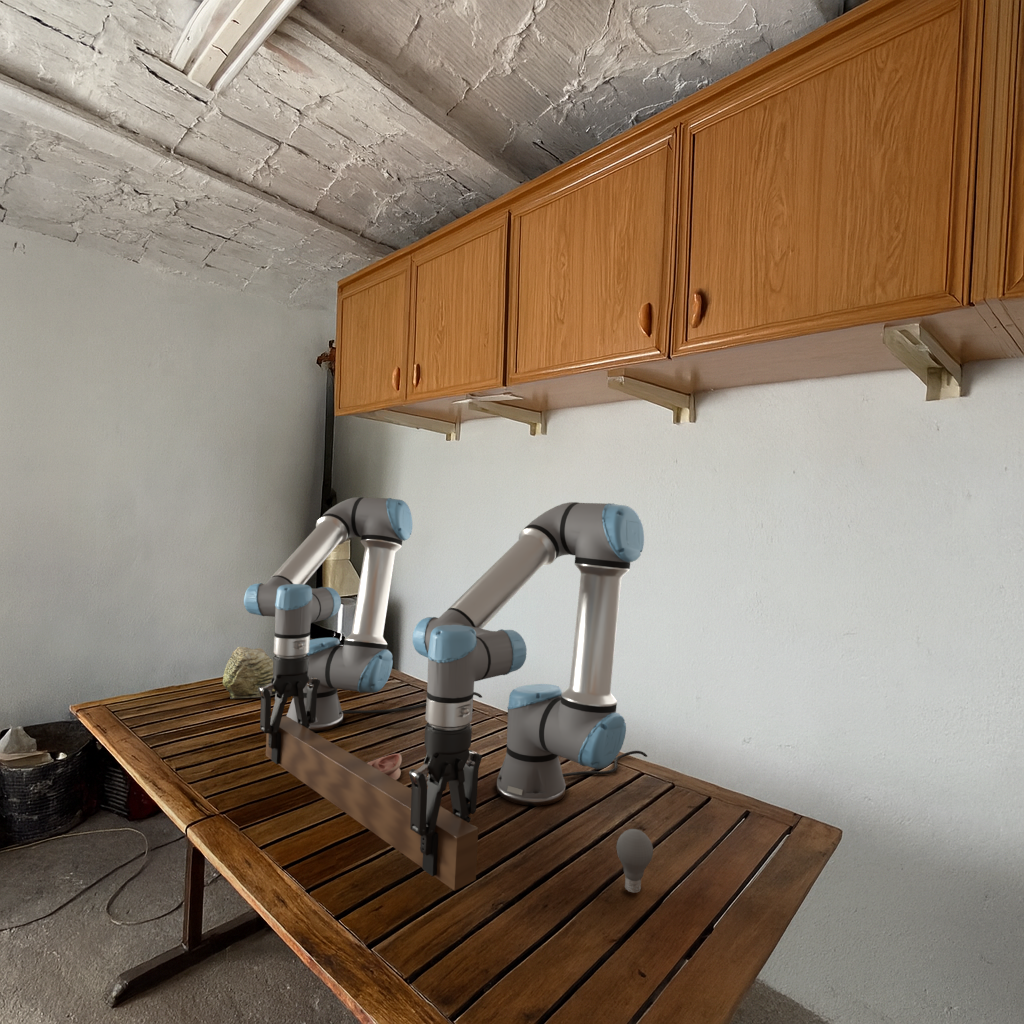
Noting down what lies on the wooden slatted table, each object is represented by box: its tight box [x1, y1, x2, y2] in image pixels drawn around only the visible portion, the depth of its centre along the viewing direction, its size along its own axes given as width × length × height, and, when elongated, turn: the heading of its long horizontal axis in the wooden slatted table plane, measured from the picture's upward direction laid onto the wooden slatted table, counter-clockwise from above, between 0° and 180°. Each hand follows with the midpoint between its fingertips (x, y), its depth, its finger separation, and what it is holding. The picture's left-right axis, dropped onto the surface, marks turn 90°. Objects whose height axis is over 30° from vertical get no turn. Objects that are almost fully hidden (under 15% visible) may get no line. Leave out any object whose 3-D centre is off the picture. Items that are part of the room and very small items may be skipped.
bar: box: [265, 715, 479, 891], centre depth 122 cm, size 66×4×8 cm, turn 45°
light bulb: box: [615, 828, 654, 894], centre depth 106 cm, size 6×6×10 cm
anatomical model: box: [366, 753, 403, 781], centre depth 144 cm, size 13×4×12 cm
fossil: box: [222, 646, 276, 699], centre depth 198 cm, size 9×18×15 cm, turn 132°
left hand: (286, 758), depth 141 cm, fingers closed on bar, 4 cm apart
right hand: (441, 865), depth 103 cm, fingers closed on bar, 4 cm apart
